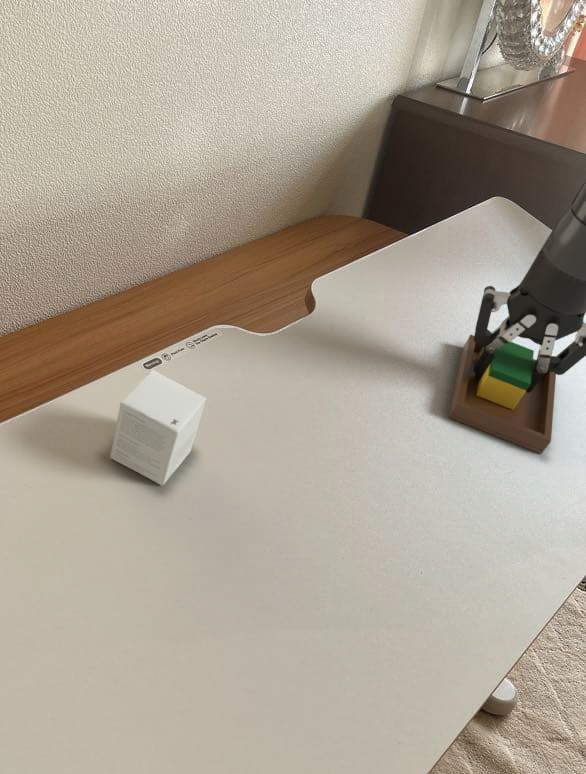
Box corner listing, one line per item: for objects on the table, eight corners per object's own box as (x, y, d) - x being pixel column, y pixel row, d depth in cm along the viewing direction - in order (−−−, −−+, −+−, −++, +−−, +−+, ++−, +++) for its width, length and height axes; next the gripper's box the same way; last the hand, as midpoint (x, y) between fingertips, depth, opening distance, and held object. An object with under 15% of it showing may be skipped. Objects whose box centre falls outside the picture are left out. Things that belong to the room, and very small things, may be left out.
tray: (462, 347, 110) (470, 334, 108) (547, 380, 109) (556, 367, 107) (448, 417, 100) (456, 404, 98) (541, 454, 99) (551, 441, 98)
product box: (191, 452, 88) (209, 397, 82) (162, 488, 84) (178, 433, 78) (138, 424, 89) (152, 367, 83) (107, 457, 85) (119, 401, 79)
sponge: (481, 362, 107) (497, 336, 104) (517, 376, 107) (534, 350, 104) (475, 395, 103) (492, 369, 100) (513, 410, 102) (530, 384, 99)
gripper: (642, 265, 94) (556, 387, 107) (516, 217, 95) (445, 343, 107) (645, 301, 89) (554, 424, 102) (511, 249, 90) (437, 378, 102)
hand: (498, 382), depth 105 cm, fingers closed on sponge, 4 cm apart
